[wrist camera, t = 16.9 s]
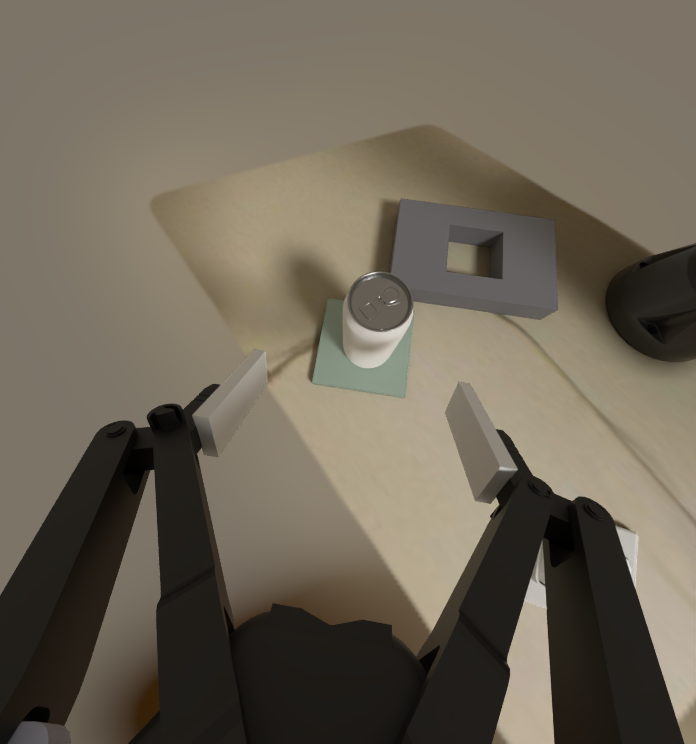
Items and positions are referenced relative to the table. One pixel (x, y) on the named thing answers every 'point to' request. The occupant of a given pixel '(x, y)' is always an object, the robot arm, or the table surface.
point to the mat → (347, 375)
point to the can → (375, 318)
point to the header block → (507, 264)
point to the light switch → (537, 589)
